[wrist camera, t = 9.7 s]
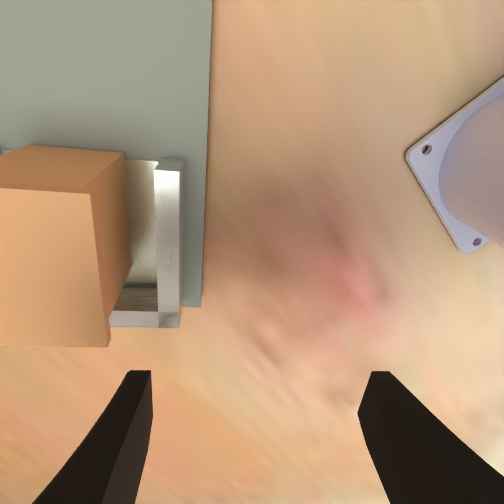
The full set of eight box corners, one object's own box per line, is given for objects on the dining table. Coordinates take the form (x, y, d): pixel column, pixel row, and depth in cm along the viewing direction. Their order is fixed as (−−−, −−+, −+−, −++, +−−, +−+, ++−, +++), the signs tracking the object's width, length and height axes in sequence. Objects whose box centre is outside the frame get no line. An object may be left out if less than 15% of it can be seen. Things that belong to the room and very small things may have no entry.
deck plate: (-90, -80, 12) (-119, -93, 11) (214, -34, 14) (213, -43, 13) (8, 289, 20) (-4, 301, 19) (201, 295, 21) (200, 307, 20)
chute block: (19, 143, 15) (-91, 181, 10) (133, 153, 16) (89, 194, 10) (42, 263, 18) (-33, 345, 12) (139, 267, 18) (107, 347, 13)
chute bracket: (-26, 141, 15) (-68, 153, 13) (184, 158, 16) (179, 171, 14) (13, 294, 19) (-14, 324, 16) (183, 299, 20) (178, 328, 17)
